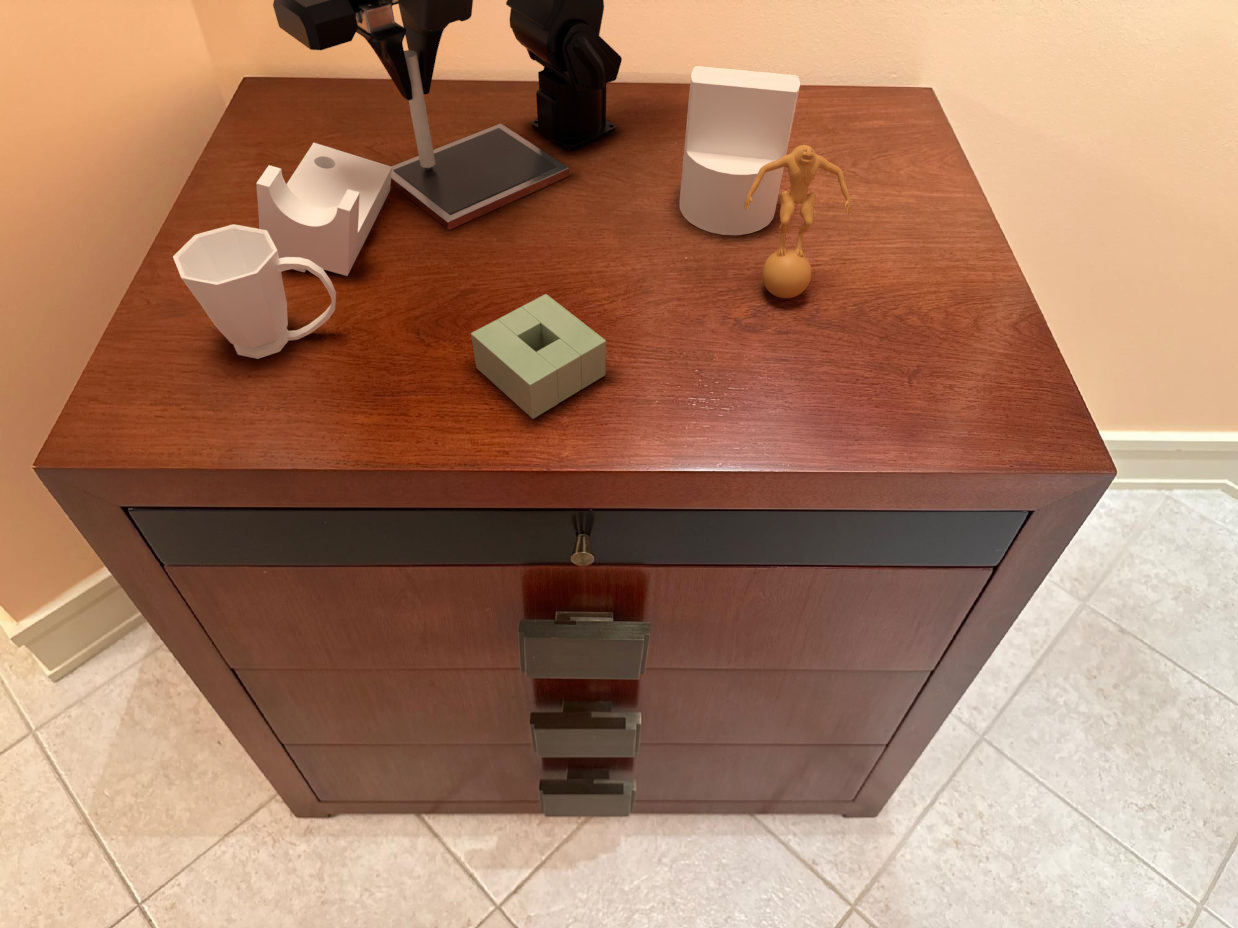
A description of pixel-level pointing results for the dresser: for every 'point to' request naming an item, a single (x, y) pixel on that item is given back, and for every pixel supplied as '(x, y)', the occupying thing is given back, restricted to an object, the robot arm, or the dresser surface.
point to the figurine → (790, 267)
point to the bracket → (323, 206)
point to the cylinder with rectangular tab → (735, 147)
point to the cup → (245, 287)
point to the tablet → (477, 175)
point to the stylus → (419, 113)
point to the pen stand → (539, 355)
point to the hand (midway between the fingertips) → (415, 95)
